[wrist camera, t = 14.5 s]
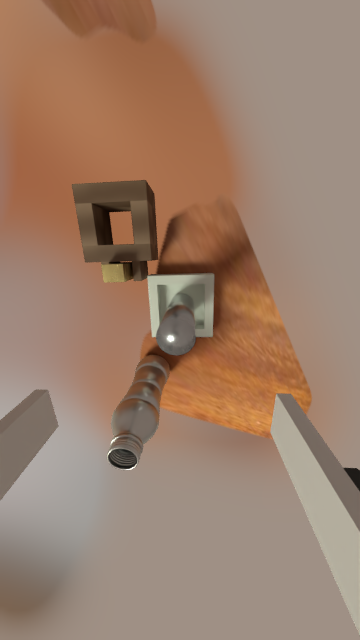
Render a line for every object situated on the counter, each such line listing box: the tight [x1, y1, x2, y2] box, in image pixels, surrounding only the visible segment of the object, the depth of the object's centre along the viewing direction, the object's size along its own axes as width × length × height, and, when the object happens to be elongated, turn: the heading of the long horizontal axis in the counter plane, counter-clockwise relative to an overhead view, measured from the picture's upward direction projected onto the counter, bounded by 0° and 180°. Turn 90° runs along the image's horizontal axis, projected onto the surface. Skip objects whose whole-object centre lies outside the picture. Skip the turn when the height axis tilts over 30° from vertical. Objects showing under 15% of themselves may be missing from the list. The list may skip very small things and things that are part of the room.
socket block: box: [72, 180, 158, 281], centre depth 31 cm, size 13×10×6 cm
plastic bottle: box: [107, 355, 170, 470], centre depth 32 cm, size 6×7×20 cm
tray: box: [147, 273, 214, 337], centre depth 35 cm, size 11×11×3 cm
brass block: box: [101, 262, 134, 282], centre depth 31 cm, size 2×3×8 cm
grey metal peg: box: [156, 293, 196, 355], centre depth 29 cm, size 4×4×15 cm
